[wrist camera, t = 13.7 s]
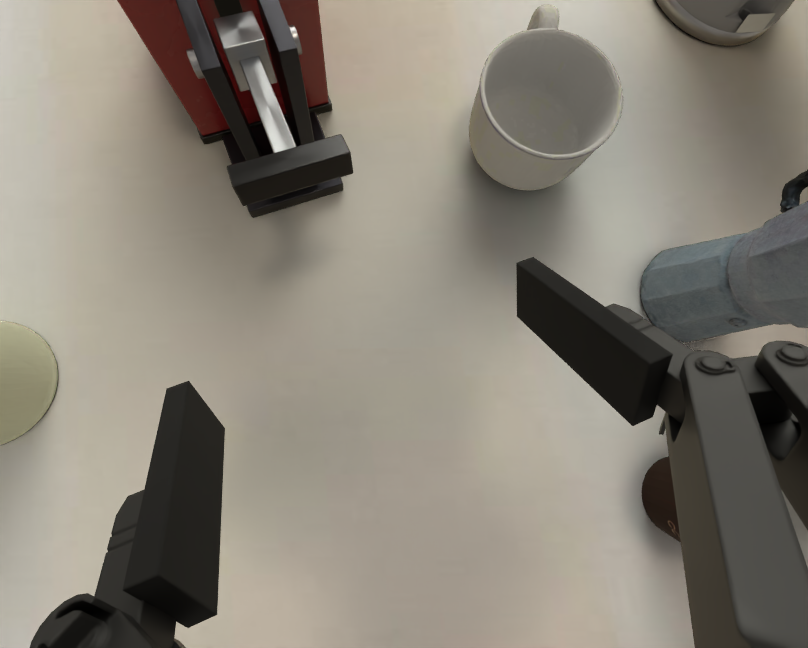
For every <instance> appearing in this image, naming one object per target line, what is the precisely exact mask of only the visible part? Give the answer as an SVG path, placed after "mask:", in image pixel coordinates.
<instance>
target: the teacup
mask: <svg viewBox="0 0 808 648" xmlns="http://www.w3.org/2000/svg"><path fill="white" fill-rule="evenodd" d="M558 24H559V11H558V9H557V8H556V7H555V6H553V5H541V6H539V7H538V8H537V9H536V10H535V12H534V13H533V15H532V17H531V20H530V23H529V25H528V28H527V31H522V32H519V33H516V34H514V35H512V36H510V37H508V38H507V39H505V40H504V41H502V42H501V43H500V44H499V45H498V46H497V47H496V48H495V49H494V50H493V51H492V53H491V54H490V55H489V57H488V58H487V60H486V62H485V65H484V68H483V70H482V73H481V78H480V85H479V88H478V91H477V94H476V97H475V101H474V105H473V108H472V112H471V117H470V124H469V137H470V144H471V148H472V151H473V154H474V156H475V158H476V160H477V162H478V163H479V165H480V166H481V167H482V169H483V170H484V171H485V172H486V173H487V174H488V175H489V176H490V177H492V178H493V179H494V180H496V181H497V182H499V183H501V184H503V185H505V186H507V187H510V188H514V189H519V190H538V189H543V188H546V187H549V186H552V185H554V184H556V183H558V182H560V181H562V180H563V179H565V178H566V177H567V176H569V175H570V174H571V173H572V172H573V171H575V170H576V169H577V168H578V167H579V166H580V165H581V164H582V163H583V162H584V161H585V160H586V159H587V158H588V157H589V156H590V155H591V154H592V153H593V152H594V151H595V150H596V149H597V148H599V147H600V146H601V145H602V144H603V143H604V142H605V141H606V140H607V139H608V138H609V137H610V136H611V134H612V133H613V131H614V130H615V128H616V126H617V125H618V122H619V119H620V117H621V113H622V106H623V95H622V88H621V84H620V79H619V77H618V74H617V72H616V70H615V68H614V66H613V64H612V63H611V62H610V60H609V59H608V58H607V57H606V55H605V54H604V53H603V52H602V51H601V50H600V49H599V48H598V47H596V46H595V45H593V44H592V43H591V42H589V41H588V40H586V39H584V38H582V37H580V36H578V35H575V34H572V33H569V32H566V31H564V30H558Z"/></svg>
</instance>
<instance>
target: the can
mask: <svg viewBox="0 0 808 648" xmlns="http://www.w3.org/2000/svg"><path fill="white" fill-rule="evenodd" d="M57 382H58V370H57V364H56V360H55V357H54V355H53V353H52V351H51V349H50V347H49V346H48V344H47V343H46V342H45V341H44V340H43V339H42V338H41V337H40V336H39V335H38V334H37V333H35V332H34V331H32V330H30V329H29V328H27V327H24V326H22V325H19V324H16V323H12V322H7V321H0V445H2V444H5V443H7V442H9V441H12V440H14V439H16V438H18V437H19V436H21V435H22V434H24V433H25V432H27V431H28V430H30V429H31V428H32V427H33V426H34V425H35V424H36V423H37V422H38V421H39V420H40V419H41V418H42V417H43V415H44V414H45V413H46V411H47V410H48V408H49V406H50V404H51V402H52V400H53V398H54V395H55V392H56V388H57Z"/></svg>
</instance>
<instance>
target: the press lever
mask: <svg viewBox="0 0 808 648" xmlns="http://www.w3.org/2000/svg"><path fill="white" fill-rule="evenodd" d="M213 21H214V24H215V27H216V30H217V33H218V35H219V38H220V41H221V44H222V47H223V49H224V52H225V54H226V57H227V60H228V62H229V65H230V67H231V70H232V72H233V75H234V77H235V80H236V82H237V85H238V87H239V90H240V91H241V92H242V91H246V90H250V91H251V94H252V97H253V99H254V102H255V105H256V107H257V110H258V113H259V115H260V118H261V121H262V123H263V126H264V129H265V131H266V134H267V137H268V139H269V142H270V145H271V147H272V150H273V153H272V154H268V155H265V156H261V157H258V158H254V159H251V160H247V161H243V162H240V163H236V164H233V165H229V166H227V170H228V174H229V177H230V180H231V184H232V187H233V189H234V190H235V192H236V194H237V196H238V198H239V200H240V202H241V203H242V205H243V206H246V205H249V204H252V203H256V202H259V201H263V200H266V199H269V198H273V197H276V196H279V195H283V194H286V193H289V192H293V191H296V190H299V189H303V188H306V187H309V186H313V185H316V184H319V183H323V182H326V181H329V180H333V179H336V178H339V177H343V176H346V175H349V174H352V173H353V167H352V160H351V153H350V151H349V148H348V146H347V144H346V142H345V140H344V138H343V136H342V135H341V134H339V135H336V136H332V137H329V138H325V139H322V140H318V141H315V142H311V143H307V144H304V145H300V146H297V147H296V144H295V142H294V139H293V137H292V135H291V132H290V130H289V127H288V125H287V122H286V120H285V117H284V115H283V113H282V110H281V108H280V105H279V103H278V100H277V98H276V96H275V93H274V91H273V88H272V86H271V84H274V83H277V78H276V75H275V71H274V68H273V65H272V61H271V58H270V55H269V51H268V48H267V45H266V41H265V38H264V36H263V34H262V31H261V29H260V27H259V24H258V22H257V20H256V17H255V15H254V13H253V11H247V12H243V13H238V14H234V15H229V16H225V17H220V18H215V19H213Z"/></svg>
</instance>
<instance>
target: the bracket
mask: <svg viewBox="0 0 808 648" xmlns="http://www.w3.org/2000/svg"><path fill="white" fill-rule="evenodd" d="M176 3H177V5H178V8H179V11H180V14H181V17H182V19H183V22H184V25H185V28H186V30H187V33H188V36H189V39H190V42H191V44H192V47H193V48H190V49H186V52H187V55H188V58H189V60H190V63H191V65H192V67H193V70H194V72H195V74H196V76H197V77H198V78H199V79H202V78H205V80H206V82H207V84H208V86H209V88H210V90H211V92H212V94H213V96H214V98H215V100H216V102H217V104H218V106H219V108H220V110H221V112H222V114H223V116H224V118H225V120H226V122H227V123H228V125H229V127H230V129H231V131H232V134H229V135H225V136H222V138H223V141H224V144H225V146H226V149H227V152H228V155H229V158H230V160H231V163H232V165H233V164H236V163H240V162H243V161H247V160H251V159H254V158H258V157H261V156H265V155H268V154H272V153H273V150H272V147H271V145H270V142H269V139H268V137H267V134H266V131H265V129H264V126H263V125H262V126H258V127H255V128H251V127H250V125H249V123H248V120H247V118H246V115H245V113H244V111H243V108H242V106H241V104H240V101H239V99H238V96H237V94H236V92H235V89H234V87H233V85H232V82H231V80H230V77H229V75H228V73H227V70H226V68H225V66H224V63H223V61H222V58H221V56H220V54H219V51H218V49H217V47H216V44H215V42H214V39H213V37H212V35H211V32H210V30H209V27H208V25H207V23H206V20H205V18H204V16H203V13H202V11H201V8H200V6H199V4H198V1H197V0H176ZM257 4H258V8H259V11H260V15H261V19H262V23H263V26H264V30H265V34H266V38H267V41H268V45H269V49H270V53H271V57H272V60H273V64H274V68H275V72H276V75H277V79H278V83H279V87H280V90H281V94H282V98H283V102H284V105H285V109H286V113H287V117H288V119H285V120H286V122H287V125H288V127H289V130H290V132H291V135H292V137H293V139H294V142H295V144H296V147H297V146H300V145H304V144H307V143H311V142H315V141H318V140H322V139H325V136H324V134H323V131H322V129H321V126H320V124H319V121H318V118H317V116H316V113H315V112H311V113H309V109H308V103H307V98H306V92H305V87H304V81H303V76H302V71H301V65H300V60H299V55H301V54H302V48H301V44H300V40H299V36H298V33H297V31H296V28H295V26H294V25H290V26H289V25H288V23H287V20H286V18H285V15H284V13H283V10H282V7H281V5H280V2H279V0H257ZM342 190H343V183H342V180H341V177H339V178H336V179H333V180H329V181H326V182H323V183H319V184H316V185H313V186H309V187H306V188H303V189H299V190H296V191H293V192H289V193H286V194H283V195H279V196H276V197H273V198H269V199H266V200H263V201H259V202H256V203H252V204H249V205H247V208H248V210H249V212H250V214H251V216H252V217H257V216H260V215H263V214H267V213H270V212H273V211H277V210H280V209H283V208H286V207H290V206H293V205H296V204H299V203H303V202H306V201H309V200H313V199H316V198H319V197H322V196H326V195H329V194H332V193H335V192H339V191H342Z"/></svg>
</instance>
